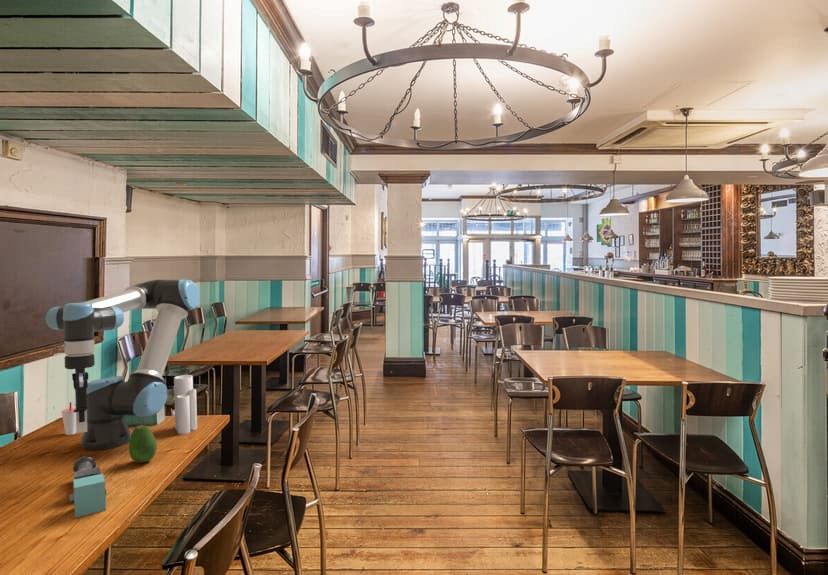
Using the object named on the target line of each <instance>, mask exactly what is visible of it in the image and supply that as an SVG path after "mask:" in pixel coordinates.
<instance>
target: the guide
mask: <svg viewBox="0 0 828 575" xmlns="http://www.w3.org/2000/svg"><path fill="white" fill-rule="evenodd" d="M99 474H102V473H101V469H100V466H97V467H96V468H92V469H87V470H82V471H77V472H74V471H73V480H75V479H79V478H84V477H89V476H93V475H99ZM106 495H107V491H106V488H105V496H106ZM68 499H69V504H72V503H74V493H72V494H71V493H70V494H68Z"/></svg>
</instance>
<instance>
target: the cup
mask: <svg viewBox="0 0 828 575" xmlns="http://www.w3.org/2000/svg"><path fill="white" fill-rule="evenodd" d="M74 410H76V407H73V408H72V401H70V402H69V408H66V409H63V410H61V416H62V421H63V422H62V423H63V428H64V434H65V435H66V436H72V435H75V434H77V432H76V412H74Z"/></svg>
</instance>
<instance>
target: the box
mask: <svg viewBox="0 0 828 575" xmlns="http://www.w3.org/2000/svg"><path fill="white" fill-rule="evenodd" d="M165 410H166V409H165V405H164V406H163V408H162V409H161V410H160V411H159V412H158V413H156V414H154V415H151V416H141V417H140V416H130V415H124V418H125V421H126V423H127V426H128V425H129V426H128V427H130V425H135V426H140V425H144V426H156V425H157V426H158V425H159V424H161V423H162V422H164V421H165V420H166V415H165V414H166V412H165Z"/></svg>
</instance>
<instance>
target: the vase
mask: <svg viewBox="0 0 828 575" xmlns="http://www.w3.org/2000/svg"><path fill="white" fill-rule="evenodd" d="M173 384H174V385H173V388H174V390H173V392H174V423H175V424H174V426H175V430H176V431H177V434H178V435H187V434H190V433H191V431H196V430H198V412H197V407H198V406H197V405H198V404H197V389H196V388H194V376H193V375H191V374H182V375H177V376H174V377H173Z"/></svg>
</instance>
